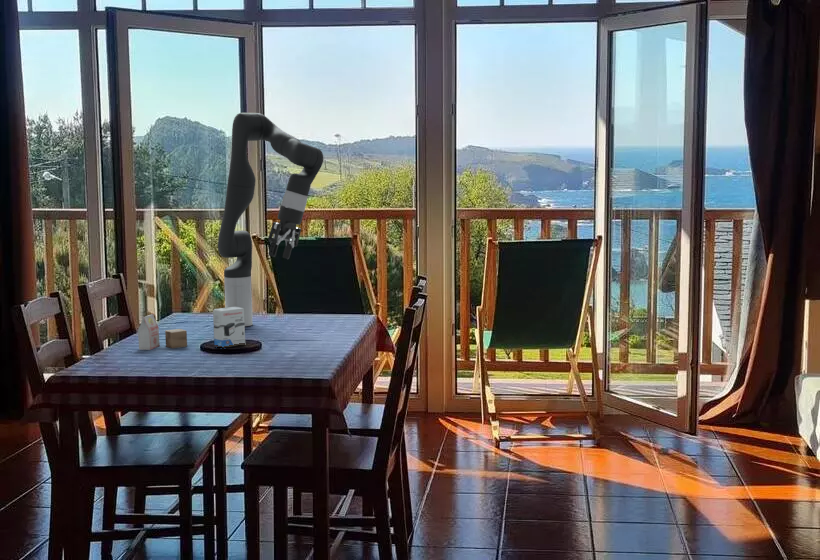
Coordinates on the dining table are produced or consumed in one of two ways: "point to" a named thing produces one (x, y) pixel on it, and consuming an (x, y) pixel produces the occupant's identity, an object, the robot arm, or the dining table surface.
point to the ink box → (229, 326)
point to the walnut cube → (176, 338)
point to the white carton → (148, 333)
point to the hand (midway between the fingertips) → (278, 257)
